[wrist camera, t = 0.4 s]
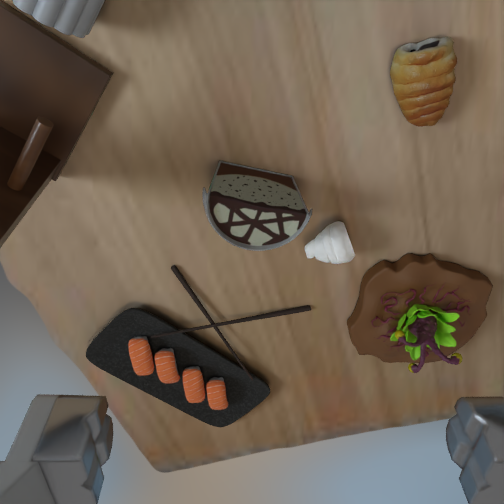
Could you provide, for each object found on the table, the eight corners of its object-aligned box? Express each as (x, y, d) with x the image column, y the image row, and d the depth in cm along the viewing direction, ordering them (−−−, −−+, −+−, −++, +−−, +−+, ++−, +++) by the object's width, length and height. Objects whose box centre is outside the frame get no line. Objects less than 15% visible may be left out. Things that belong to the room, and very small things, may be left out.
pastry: (451, 114, 56) (464, 125, 53) (393, 129, 57) (402, 141, 54) (449, 29, 51) (462, 36, 48) (385, 47, 52) (394, 55, 49)
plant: (449, 360, 79) (477, 417, 70) (335, 347, 77) (349, 405, 68) (505, 262, 68) (547, 315, 59) (374, 244, 66) (396, 296, 57)
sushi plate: (80, 348, 76) (74, 366, 73) (199, 225, 64) (196, 241, 60) (222, 422, 87) (221, 441, 84) (345, 330, 75) (350, 348, 72)
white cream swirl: (296, 227, 64) (301, 250, 60) (340, 212, 63) (347, 234, 58) (309, 258, 67) (314, 282, 63) (351, 244, 66) (359, 267, 61)
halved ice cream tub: (198, 201, 62) (192, 244, 53) (207, 157, 58) (202, 195, 50) (290, 219, 63) (298, 263, 55) (304, 178, 60) (314, 218, 52)
